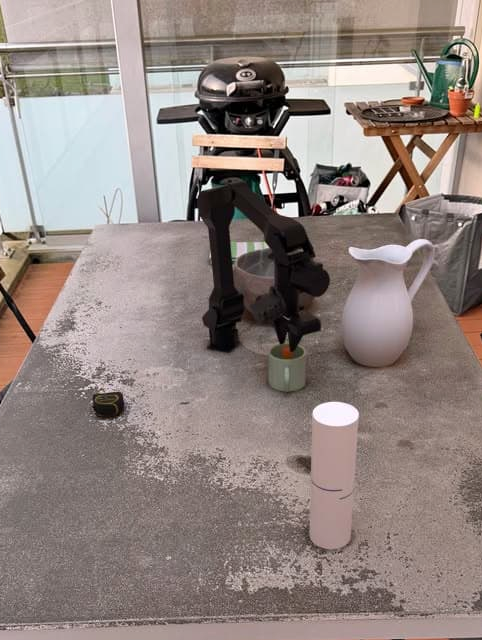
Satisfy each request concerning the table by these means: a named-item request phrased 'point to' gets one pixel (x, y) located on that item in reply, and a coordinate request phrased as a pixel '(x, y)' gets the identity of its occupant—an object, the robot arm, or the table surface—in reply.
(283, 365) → the green handled mug
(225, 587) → the table surface
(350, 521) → the cylindrical container
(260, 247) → the dish towel
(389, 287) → the pitcher
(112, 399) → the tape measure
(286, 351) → the marker
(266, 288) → the bowl
